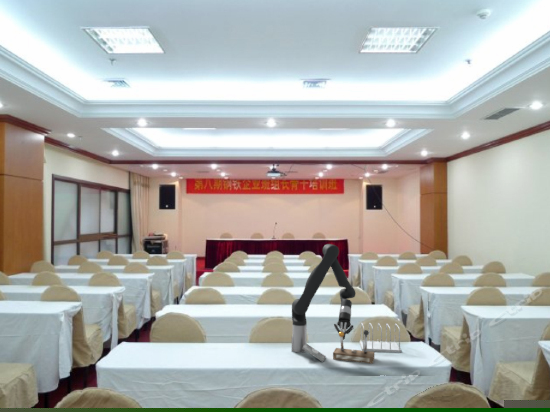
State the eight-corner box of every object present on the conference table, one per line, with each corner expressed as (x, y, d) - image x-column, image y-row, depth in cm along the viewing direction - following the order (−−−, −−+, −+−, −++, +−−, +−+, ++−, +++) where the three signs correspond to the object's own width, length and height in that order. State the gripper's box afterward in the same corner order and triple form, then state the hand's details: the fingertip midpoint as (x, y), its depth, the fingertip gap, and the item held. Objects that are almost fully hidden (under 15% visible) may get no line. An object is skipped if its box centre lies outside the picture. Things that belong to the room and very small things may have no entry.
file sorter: (362, 351, 268) (362, 327, 269) (359, 343, 286) (359, 321, 286) (401, 352, 266) (401, 328, 266) (396, 344, 283) (396, 322, 283)
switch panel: (333, 359, 252) (333, 350, 252) (336, 354, 262) (336, 346, 262) (372, 363, 244) (372, 355, 244) (374, 358, 254) (374, 349, 254)
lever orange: (339, 352, 255) (338, 333, 250) (340, 348, 257) (338, 330, 253) (344, 352, 254) (343, 333, 249) (345, 349, 256) (344, 330, 252)
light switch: (324, 359, 247) (303, 345, 251) (319, 367, 247) (299, 354, 251) (326, 355, 255) (306, 342, 259) (322, 363, 256) (302, 349, 259)
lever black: (362, 352, 250) (363, 329, 256) (362, 353, 253) (364, 330, 259) (367, 353, 249) (368, 329, 255) (368, 353, 252) (369, 330, 258)
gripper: (334, 310, 265) (330, 335, 254) (354, 312, 261) (352, 337, 249) (335, 317, 270) (332, 341, 258) (355, 318, 266) (353, 343, 254)
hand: (342, 339), depth 254 cm, fingers closed
